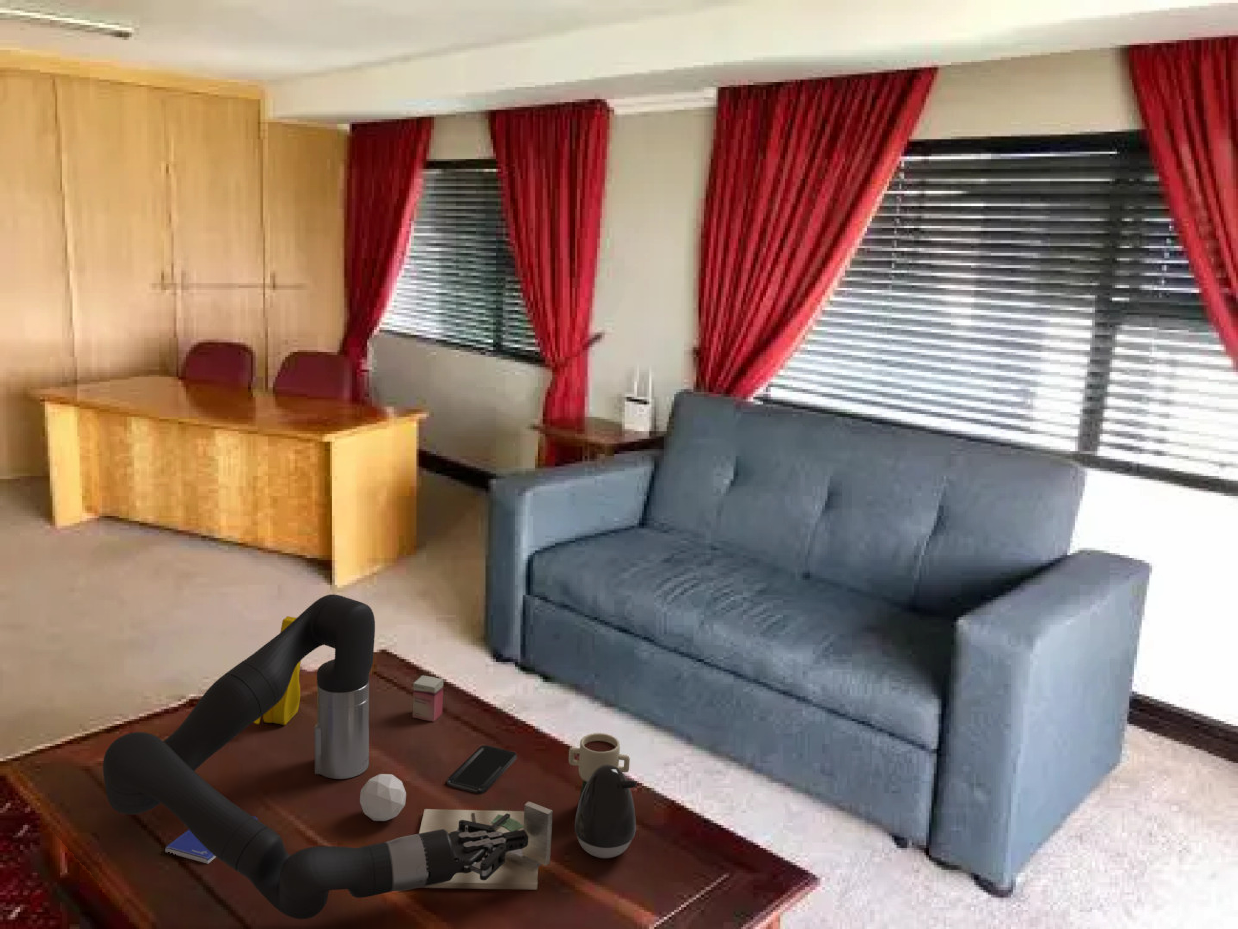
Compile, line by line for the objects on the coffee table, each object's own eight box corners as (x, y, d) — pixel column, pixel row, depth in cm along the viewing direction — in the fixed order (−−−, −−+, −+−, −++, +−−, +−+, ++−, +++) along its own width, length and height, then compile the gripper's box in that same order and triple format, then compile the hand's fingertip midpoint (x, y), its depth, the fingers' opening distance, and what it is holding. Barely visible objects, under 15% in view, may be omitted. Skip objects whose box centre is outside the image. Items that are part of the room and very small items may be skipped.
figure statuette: (282, 697, 217) (280, 599, 212) (317, 701, 216) (316, 603, 211) (242, 737, 200) (239, 632, 195) (281, 742, 199) (279, 636, 194)
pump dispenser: (614, 876, 164) (619, 791, 161) (561, 852, 170) (565, 769, 166) (646, 845, 173) (652, 764, 169) (595, 824, 178) (599, 745, 175)
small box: (411, 718, 211) (412, 682, 210) (421, 709, 215) (421, 674, 214) (434, 722, 210) (434, 687, 208) (443, 713, 214) (444, 678, 212)
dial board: (407, 887, 159) (408, 881, 158) (424, 814, 178) (424, 808, 178) (537, 889, 160) (537, 883, 160) (539, 816, 179) (539, 811, 179)
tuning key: (457, 844, 168) (458, 786, 165) (497, 813, 177) (499, 758, 175) (539, 879, 160) (541, 819, 158) (576, 845, 169) (579, 788, 167)
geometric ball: (392, 835, 176) (403, 816, 171) (348, 819, 175) (358, 800, 170) (406, 795, 182) (417, 775, 176) (363, 779, 181) (373, 759, 175)
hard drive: (207, 858, 161) (257, 817, 173) (165, 846, 163) (216, 806, 175) (208, 867, 162) (257, 825, 173) (165, 855, 164) (217, 814, 175)
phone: (444, 781, 187) (482, 744, 201) (444, 786, 188) (482, 749, 201) (483, 791, 185) (519, 753, 199) (483, 797, 185) (519, 758, 199)
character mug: (629, 802, 186) (633, 737, 183) (622, 824, 179) (627, 757, 176) (570, 793, 187) (574, 729, 184) (561, 815, 180) (565, 748, 177)
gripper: (406, 856, 160) (511, 835, 167) (428, 910, 149) (540, 884, 156) (407, 814, 158) (513, 794, 166) (430, 865, 147) (543, 841, 154)
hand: (526, 838), depth 161 cm, fingers closed
